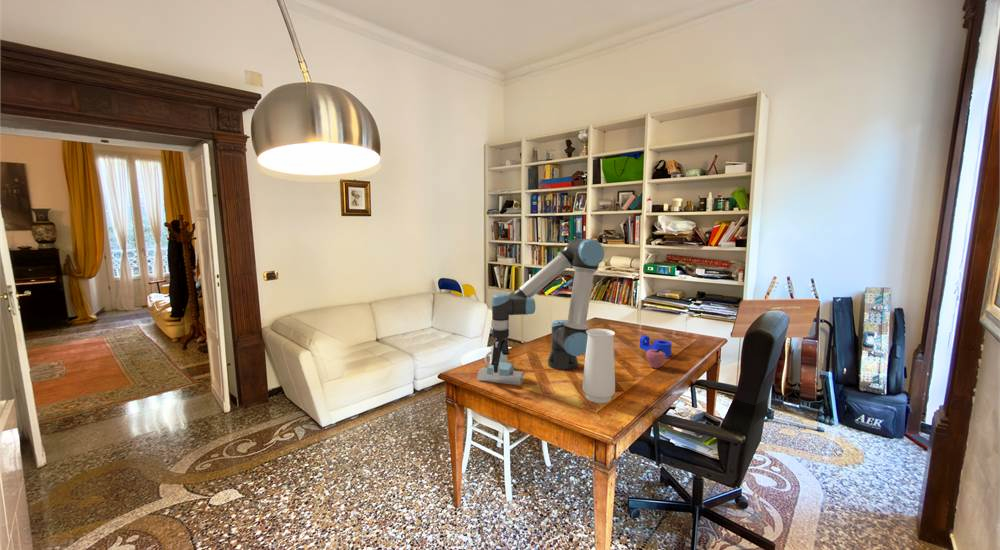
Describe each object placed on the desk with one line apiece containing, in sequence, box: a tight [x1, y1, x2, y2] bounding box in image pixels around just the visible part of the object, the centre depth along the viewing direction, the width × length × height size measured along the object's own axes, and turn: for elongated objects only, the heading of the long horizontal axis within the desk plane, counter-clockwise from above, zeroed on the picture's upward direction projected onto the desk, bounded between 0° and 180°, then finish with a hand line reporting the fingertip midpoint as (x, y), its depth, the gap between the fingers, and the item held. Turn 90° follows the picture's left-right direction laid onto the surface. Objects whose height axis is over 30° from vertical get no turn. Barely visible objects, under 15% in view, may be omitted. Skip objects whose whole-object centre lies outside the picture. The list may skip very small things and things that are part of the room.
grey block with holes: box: [477, 366, 524, 386], centre depth 183 cm, size 20×6×4 cm, turn 74°
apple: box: [645, 349, 667, 369], centre depth 199 cm, size 10×9×10 cm
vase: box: [582, 327, 616, 404], centre depth 163 cm, size 13×13×28 cm
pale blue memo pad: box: [486, 362, 514, 376], centre depth 183 cm, size 10×9×6 cm
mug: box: [484, 344, 503, 367], centre depth 199 cm, size 12×8×10 cm
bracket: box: [639, 334, 673, 358], centre depth 222 cm, size 20×9×8 cm, turn 21°
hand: (500, 373), depth 183 cm, fingers open, 13 cm apart
